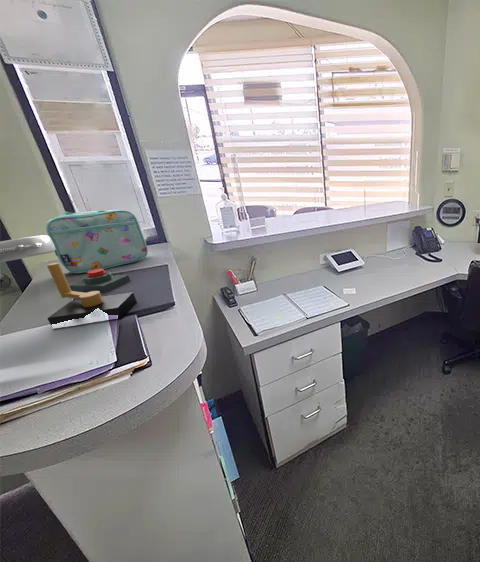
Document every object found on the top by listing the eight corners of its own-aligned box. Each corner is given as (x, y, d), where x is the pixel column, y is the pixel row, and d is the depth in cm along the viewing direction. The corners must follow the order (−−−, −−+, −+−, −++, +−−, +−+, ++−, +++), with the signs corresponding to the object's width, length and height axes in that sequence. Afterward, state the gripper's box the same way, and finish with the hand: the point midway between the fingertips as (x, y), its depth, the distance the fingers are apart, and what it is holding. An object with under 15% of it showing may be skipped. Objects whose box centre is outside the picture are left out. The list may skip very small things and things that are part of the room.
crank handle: (57, 303, 79) (39, 266, 76) (75, 296, 83) (59, 261, 79) (90, 308, 76) (73, 269, 72) (107, 301, 80) (92, 264, 76)
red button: (85, 278, 95) (83, 273, 95) (98, 273, 99) (95, 268, 98) (97, 278, 95) (95, 273, 94) (109, 273, 99) (107, 268, 98)
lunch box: (62, 279, 106) (33, 217, 98) (60, 272, 112) (33, 213, 104) (153, 259, 123) (135, 205, 115) (146, 255, 130) (129, 203, 122)
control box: (71, 292, 95) (65, 280, 93) (98, 280, 103) (94, 269, 102) (105, 292, 93) (100, 280, 92) (130, 281, 102) (126, 269, 100)
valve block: (53, 329, 73) (47, 318, 72) (76, 311, 82) (71, 300, 81) (122, 318, 77) (117, 307, 76) (137, 302, 86) (133, 292, 85)
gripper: (23, 228, 56) (61, 226, 68) (-144, 257, 49) (-68, 249, 61) (40, 262, 58) (74, 254, 70) (-118, 294, 51) (-50, 279, 63)
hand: (7, 252), depth 66 cm, fingers closed
